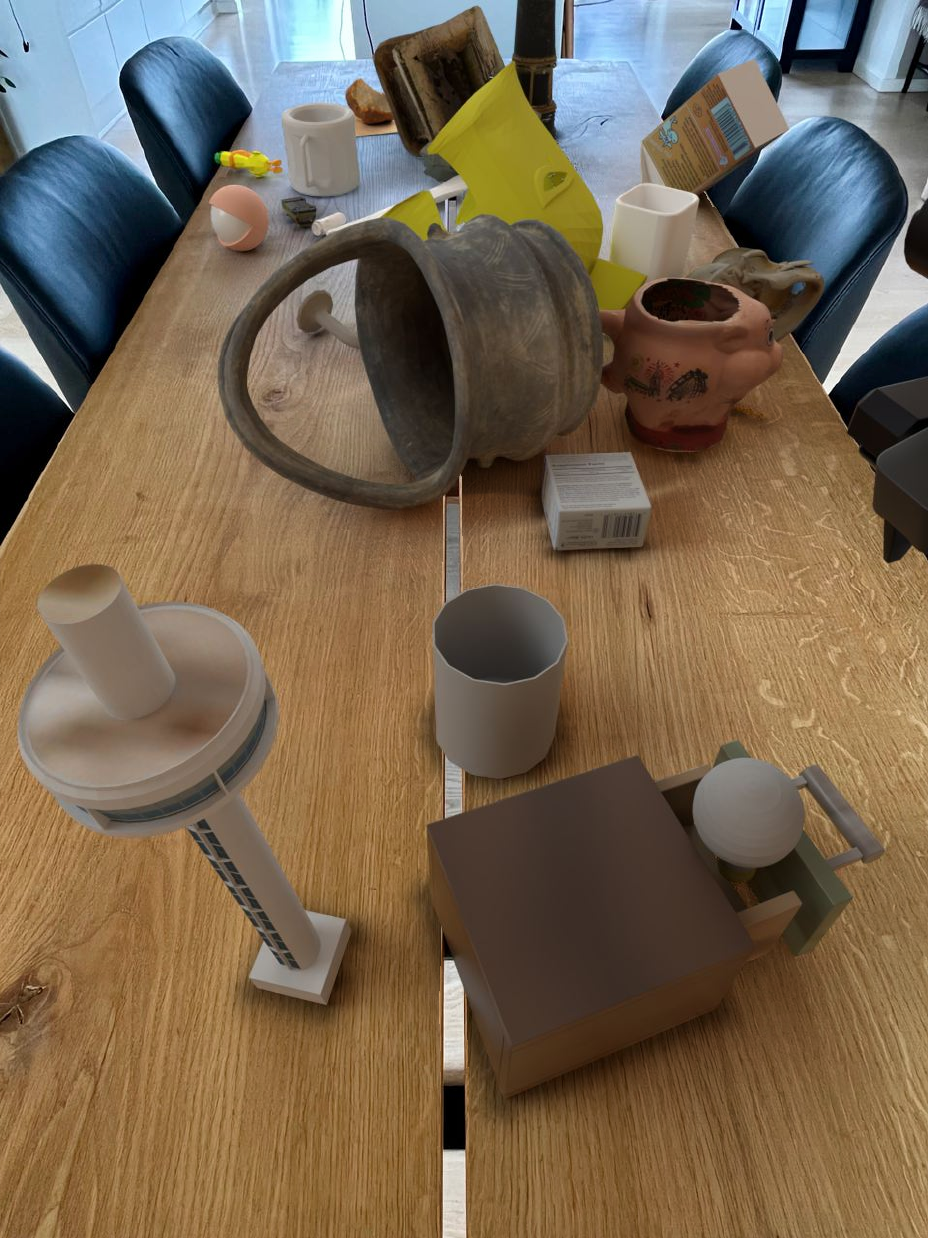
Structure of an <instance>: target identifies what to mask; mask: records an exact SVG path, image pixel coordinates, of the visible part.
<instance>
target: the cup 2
mask: <svg viewBox="0 0 928 1238" xmlns="http://www.w3.org/2000/svg"><path fill="white" fill-rule="evenodd" d="M614 204H615V206H614V211H613V218H612V219H613V220H612V228H611V233H610V234H611V236H610V243H609V244H610V245H609V255H608V261H609V262H612V263H614V264H617V265H620V266H623V267H625V268H628V269H631V270H633V271H636V272H639V273H641V274H644V275H647V276H648V277H647V280H646V282H645V283H644V285H645V284H646V283H648V282H651V281H653V280H657V279H662V278H683V276H684V272H685V268H686V265H687V264H686V263H687V260H688V256H689V252H690V248H691V242H692V239H693V233H694V229H695V223H696V218H697V213H698V208H699V204H700V198H699V195H697V196H696V195H695V194H693V193H690V192H686V191H682V190H678V189H674V188H670V187H666V186H662V185H657V184H652V183H644V184H641V183H639V184H636V185H635V186H633V187H632V188H630V189H628V190H626V191H625V192H624V193H622V194H621V195H619V196H618V197H617V198H616V199H615V203H614ZM629 305H630V304H629Z"/></svg>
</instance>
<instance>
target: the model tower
mask: <svg viewBox="0 0 928 1238" xmlns="http://www.w3.org/2000/svg"><path fill="white" fill-rule="evenodd" d="M36 609H37V612H38V614H39V616H40V617H41V619H42V620H43V621H44V623H45V624H46V625H47V627H48V629H49V630H50V632H51V633H52V634H53V636H54V637H55V640H56V641H58V644H59V645H60V646H58V648H56V649H55V651H53V652H52V653H51V654H50V655H49V656H48V657H47V659H46V660H45V661H44V662H43V663H42V665H40V667H39V668H38V670H37V671H36V672H35V674H34V676H33V677H32V679H31V680H30V682H29V683H28V685H27V688H26V690H25V692H24V695H23V697H22V700H21V702H20V707H19V712H18V717H17V745H18V748H19V752H20V755H21V759H22V761H23V762H24V764H25V766H26V767H27V769H28V770H29V773H30V774H31V775H32V776H33V777H34V778H35V779H36V781H37V782H38V783H40V785H41V786H42V787H43V788H45V790H47V792H49V794H51V795H52V796H53V797H54V799H55V801H56V802H57V804H58V805H59V806H60V808H61V809H62V810H63V811H64V812H65V813H66V814H67V815H68V816H69V817H70V818H71V819H72V820H73V821H74V822H75V823H77V824H79V825H81V826H82V827H84V828H85V829H88V830H89V831H91V832H94V833H98V834H101V835H103V836H107V837H113V838H123V839H139V838H140V839H143V838H152V837H157V836H161V835H167V834H171V833H174V832H177V831H179V830H182V829H184V828H186V830H187V831H188V833H189V835H190V836H191V837H192V838H193V840H194V841H195V843H196V844H197V846H198V847H199V848H200V850H201V852H202V853H203V854H204V856H205V858H206V859H207V860H208V861H209V863H210V865H211V866H212V868H213V869H214V871H215V872H216V873H217V875H218V876H219V878H220V879H221V881H222V882H223V883H224V885H225V887H226V888H227V889H228V891H229V892H230V894H231V895H232V897H233V898H234V900H235V901H236V903H237V904H238V905H239V907H240V908H241V910H242V911H243V912H244V915H246V917H247V918H248V920H249V921H250V923H251V924H252V926H253V927H254V929H255V930H256V932H257V933H258V934H259V936H260V938H261V939H262V940H263V941H262V943H261V946H260V949H259V951H258V954H257V956H256V958H255V961H254V963H253V966H252V969H251V971H250V973H249V976H248V979H249V980H250V981H251V982H252V984H253V985H254V987H256V989H259V990H264V991H268V992H272V993H276V994H279V995H284V996H288V997H293V998H296V999H301V1000H304V1001H308V1002H313V1003H317V1004H320V1005H325V1006H327V1005H328V1002H329V999H330V996H331V994H332V990H333V988H334V985H335V982H336V979H337V975H338V973H339V969H340V967H341V963H342V962H343V958H344V955H345V952H346V950H347V946H348V943H349V940H350V937H351V934H352V928H351V927H350V924H349V922H348V921H347V920H348V919H346V918H341V917H338V916H333V915H328V914H325V913H324V914H323V913H319V912H316V911H310V910H306V909H305V908H304V905H303V904H302V902H301V900H300V899H299V897H298V895H297V893H296V891H295V890H294V888H293V886H292V884H291V883H290V881H289V879H288V877H287V875H286V874H285V872H284V870H283V868H282V866H281V865H280V862H279V861H278V859H277V857H276V855H275V853H274V851H273V849H272V848H271V846H270V844H269V843H268V840H267V839H266V838H265V835H264V834H263V832H262V830H261V829H260V826H259V823H258V822H257V821H256V819H255V817H254V815H253V813H252V812H251V810H250V808H249V806H248V805H247V803H246V801H245V799H244V798H243V796H242V793H241V792H243V790H245V789H246V788H247V787H248V786H249V784H250V783H251V782H252V781H253V780H254V778H255V777H256V776H257V774H258V773H259V772H260V771H261V770H262V768H263V766H264V764H265V763H266V761H267V759H268V757H269V756H270V753H271V752H272V749H273V746H274V743H275V741H276V738H277V734H278V729H279V722H280V710H279V709H280V708H279V701H278V697H277V694H276V690H275V688H274V685H273V683H272V681H271V679H270V677H269V676H268V673H267V672H266V670H265V667H264V663H263V660H262V659H263V658H262V657H261V654H260V652H259V650H258V646H257V645H256V644H255V641H254V640H253V638H252V636H251V635H250V633H248V631H246V629H245V628H244V627H243V626H242V625H241V624H240V623H239V622H237V621H236V620H234V619H233V618H231V617H230V616H228V615H227V614H224V613H222V612H221V611H219V610H216V609H214V608H211V607H209V606H207V605H203V604H198V603H193V602H189V601H173V600H171V601H159V602H158V601H157V602H150V603H145V604H140V605H137V603H136V602H135V600H134V598H133V596H132V595H131V593H130V591H129V589H128V587H127V586H126V584H125V581H124V580H123V577H121V575H120V573H119V572H118V571H117V569H115V568H113V567H111V566H109V565H107V564H103V563H90V564H84V565H83V564H82V565H78V566H76V567H73V568H69V569H68V570H66V571H64V572H62V573H60V574H59V575H57V576H55V577H54V578H53V579H52V580H51V581H50V582H49V583H47V584H46V586H45V587H44V588H43V589H42V591H41V592H40V593H39V596H38V599H37V603H36Z"/></svg>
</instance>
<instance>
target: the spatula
mask: <svg viewBox="0 0 928 1238" xmlns="http://www.w3.org/2000/svg"><path fill="white" fill-rule="evenodd" d="M467 190H468V187H467V185H466V183H465V182H464V181H463V179H462V178H461V177H460V175H458V176H455V177H453V178H451V179H450V180H448V181H446V182H442V183H440V184H438V185H437V186H434V187H432V188H430V189H427V190H426V191H430V192H431V194H432V196H433V198H434V199H435V202H436V205H437V204H440V203H442V202H444V201H446V200H449V199H451V198H453V197H457V196H458V195H460V194H462V193H464V192H465V191H466V192H467ZM396 204H397V203H395V204H393V205H391V206H390V205H389V206H387V207H385V208H383V209H380V210H378V211H376V212H374V213H371V214H369V215H367V216H364V217H361V218H359V219H356V220H353V221H351V222H348V223H345V224H344V225H341V226H339V227H337V228H334V229H330V230H328V231H327V232H326V234H325V236H327V235H330V234H332V233H334V232H336V231H338V230H341V229H343V228H345V227H347V226H350V225H353V224H357V223H360V222H364V221H367V220H371V219H376V218H380V217H381V216H382V215H383V214H385V213H386V212H387V211H388V210H390V209H391V208H392V207H393V206H395V205H396Z"/></svg>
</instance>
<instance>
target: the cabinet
mask: <svg viewBox="0 0 928 1238" xmlns="http://www.w3.org/2000/svg"><path fill="white" fill-rule="evenodd" d="M655 781H656V780H655V779H654V778H653V776H652V775H651V774H650V772H649V770H648V768H647V767H646V766H645V764H644V762H643V760H642V759H641V757H640V755H639V754H636V755H632V756H629V757H626V758H624V759H620V760H617V761H614V762H611V763H609V764H605V765H602V766H599V767H596V768H593V769H590V770H586V771H585V772H581V773H578V774H575V775H572V776H569V777H565V778H563V779H560V780H557V781H554V782H551V783H548V784H544V785H542V786H539V787H536V788H533V789H529V790H527V791H523V792H521V793H518V794H514V795H512V796H511V795H510V796H508V797H506V798H505V797H504V798H502V799H500V800H499V799H498V800H496V801H493V802H489V803H487V804H484V805H482V806H478V807H475V808H472V809H470V810H465V811H463V812H460V813H457V814H454V815H450V816H449V817H445V818H442V819H439V820H436V821H432V822H430V823H427V824H426V825H425V826H426V842H427V843H426V844H427V858H428V859H427V860H428V877H429V878H428V879H429V891H430V892H429V893H430V900H431V902H432V905H433V908H434V911H435V913H436V916H437V920H438V922H439V925H440V927H441V930H442V933H443V935H444V938H445V941H446V944H447V947H448V949H449V953H450V954H451V958H452V960H453V963H454V966H455V969H456V971H457V974H458V977H459V980H460V982H461V984H462V987H463V990H464V993H465V996H466V998H467V1002H468V1004H469V1007H470V1009H471V1013H472V1015H473V1018H474V1021H475V1023H476V1026H477V1029H478V1032H479V1035H480V1037H481V1040H482V1043H483V1045H484V1048H485V1051H486V1054H487V1057H488V1059H489V1061H490V1065H491V1068H492V1070H493V1072H494V1075H495V1076H494V1077H495V1078H496V1081H497V1084H498V1086H499V1089H500V1092H501V1095H502V1098H503V1099H504V1100H507V1099H509V1098H511V1097H514V1096H515V1095H518V1094H520V1093H523V1092H525V1091H527V1090H529V1089H532V1088H534V1087H536V1086H540V1085H542V1084H543V1083H547V1082H548V1081H551V1080H553V1079H556V1078H558V1077H560V1076H562V1075H565V1074H567V1073H569V1072H573V1071H574V1070H577V1069H579V1068H581V1067H584V1066H586V1065H589V1064H591V1063H593V1062H595V1061H597V1060H601V1059H603V1058H605V1057H607V1056H609V1055H613V1054H614V1053H616V1052H620V1051H621V1050H624V1049H626V1048H629V1047H631V1046H633V1045H635V1044H638V1043H640V1042H642V1041H644V1040H648V1039H649V1038H652V1037H654V1036H657V1035H659V1034H661V1033H663V1032H664V1033H665V1032H666V1031H669V1030H671V1029H673V1028H675V1027H678V1026H680V1025H682V1024H685V1023H687V1022H689V1021H691V1020H694V1019H696V1018H699V1017H701V1016H703V1015H706V1014H708V1013H710V1012H713V1011H715V1010H716V1009H717V1008H718V1006H719V1005H720V1003H721V1002H722V1000H723V999H724V997H725V996H726V994H727V993H728V991H729V989H730V988H731V987H732V985H733V983H734V982H735V980H736V979H737V977H738V975H739V974H740V972H741V971H742V969H743V968H744V966H745V964H746V963H747V962H746V961H747V960H748V958H749V957H750V955H751V953H753V951H754V950H755V948H756V945H755V943H754V942H753V940H752V938H751V937H750V935H749V933H748V932H747V930H746V929H745V927H744V925H743V924H742V922H741V921H740V919H739V917H738V916H737V914H736V912H735V911H734V909H733V908H732V906H731V904H730V903H729V901H728V900H727V898H726V896H725V895H724V893H723V891H722V890H721V888H720V887H719V885H718V883H717V882H716V880H715V879H714V877H713V875H712V874H711V872H710V870H709V869H708V867H707V866H706V864H705V862H704V861H703V859H702V857H701V856H700V854H699V853H698V851H697V849H696V848H695V846H694V845H693V843H692V841H691V840H690V838H689V836H688V835H687V833H686V832H685V830H684V828H683V827H682V825H681V824H680V822H679V820H678V819H677V817H676V815H675V814H674V812H673V811H672V809H671V807H670V806H669V804H668V803H667V801H666V799H665V798H664V796H663V794H662V793H661V791H660V790H659V788H658V786H657V785H656V783H655Z"/></svg>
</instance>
